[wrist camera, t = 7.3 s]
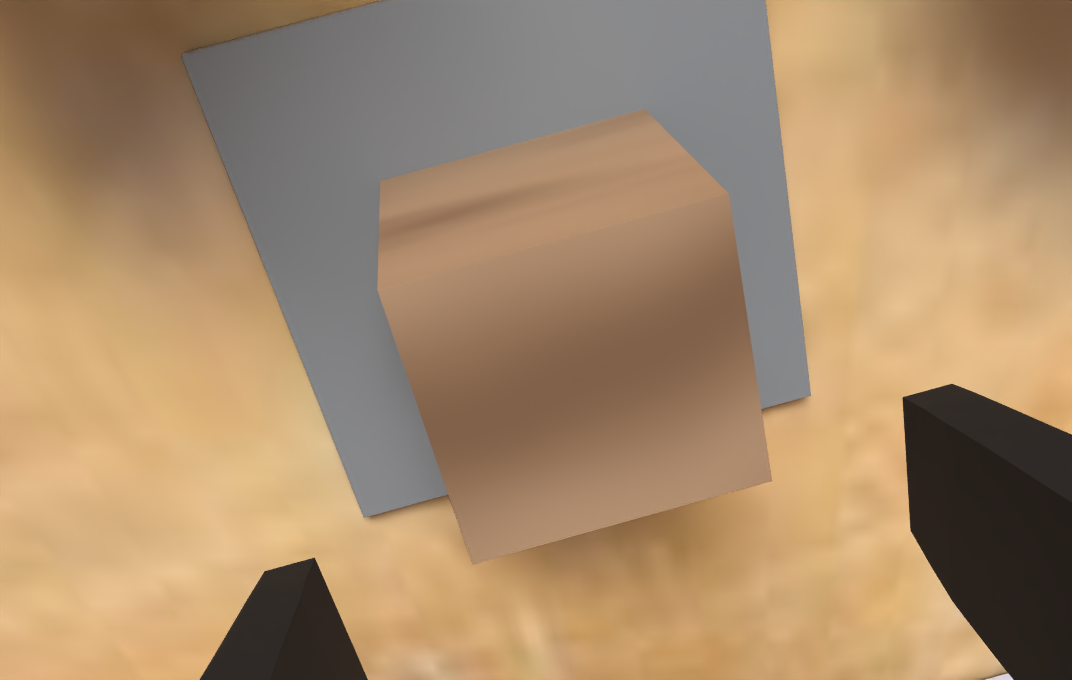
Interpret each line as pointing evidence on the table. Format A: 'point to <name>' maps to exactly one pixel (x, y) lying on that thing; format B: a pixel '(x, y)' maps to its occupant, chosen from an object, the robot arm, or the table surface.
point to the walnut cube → (573, 332)
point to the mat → (465, 130)
